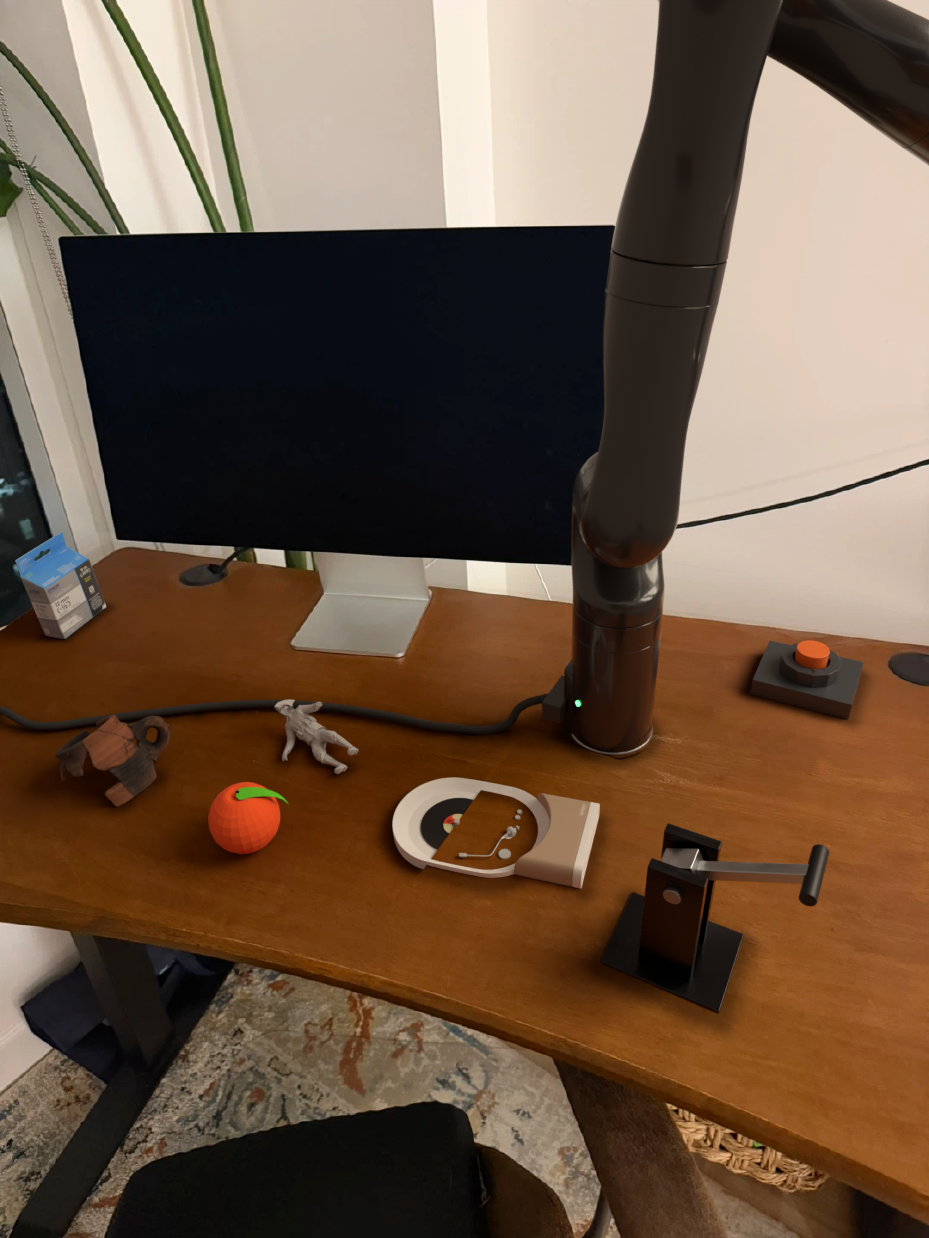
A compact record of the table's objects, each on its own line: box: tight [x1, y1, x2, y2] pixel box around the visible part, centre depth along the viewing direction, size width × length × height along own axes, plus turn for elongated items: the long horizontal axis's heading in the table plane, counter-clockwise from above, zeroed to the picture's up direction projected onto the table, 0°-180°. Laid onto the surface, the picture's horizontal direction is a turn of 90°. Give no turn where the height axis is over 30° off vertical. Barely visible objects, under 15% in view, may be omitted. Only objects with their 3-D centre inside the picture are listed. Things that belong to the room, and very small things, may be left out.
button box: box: [750, 640, 865, 720], centre depth 101 cm, size 11×9×4 cm
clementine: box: [207, 781, 290, 855], centre depth 84 cm, size 8×7×7 cm
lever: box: [660, 843, 830, 907], centre depth 64 cm, size 12×5×2 cm, turn 61°
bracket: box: [599, 823, 745, 1014], centre depth 69 cm, size 10×8×13 cm
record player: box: [391, 776, 601, 890], centre depth 84 cm, size 12×3×20 cm
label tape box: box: [15, 531, 107, 640], centre depth 119 cm, size 9×4×12 cm, turn 159°
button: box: [795, 639, 831, 669], centre depth 100 cm, size 4×4×2 cm
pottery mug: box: [54, 715, 172, 808], centre depth 94 cm, size 12×10×8 cm
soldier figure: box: [273, 698, 360, 775], centre depth 96 cm, size 8×5×12 cm
